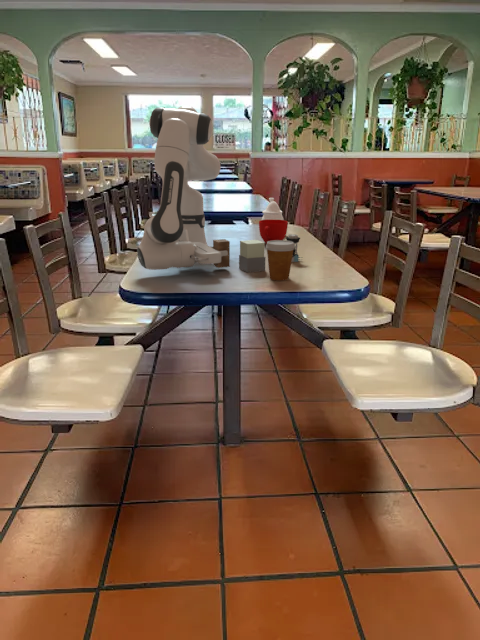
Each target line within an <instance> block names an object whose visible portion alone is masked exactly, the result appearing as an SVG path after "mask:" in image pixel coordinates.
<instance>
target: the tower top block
mask: <svg viewBox="0 0 480 640" xmlns="http://www.w3.org/2000/svg"><path fill="white" fill-rule="evenodd" d="M265 244H266V243H265V242H264V241H261V240H258V239H249V240H247V239H246V240H240V241H239V255H241V256H243V257H245V258H259V257H265V246H266V245H265Z"/></svg>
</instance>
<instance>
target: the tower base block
mask: <svg viewBox="0 0 480 640" xmlns="http://www.w3.org/2000/svg"><path fill="white" fill-rule="evenodd" d="M238 269H240V270H241V271H243V272H246V273H254V272H255V273H256V272H265V271H266V256H264V257H259V258H245V257H243V256H241V255H240V254H239V255H238Z"/></svg>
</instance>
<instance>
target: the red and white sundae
mask: <svg viewBox="0 0 480 640" xmlns="http://www.w3.org/2000/svg"><path fill="white" fill-rule="evenodd" d="M274 200H275V198H274V197H269V198H268V201H269V203H268V204H267V206H266V208H265V210H262V211H261V212H262V214H263V215H262V218H261V220H285V219H284V216H283V211H282V210H281V208H280V206H279V204H278V202H276V201H274ZM258 234H259V236H260V237H261V235H260V232H258Z"/></svg>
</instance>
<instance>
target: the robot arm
mask: <svg viewBox="0 0 480 640" xmlns="http://www.w3.org/2000/svg"><path fill="white" fill-rule="evenodd" d="M148 123H149V129H150V133H151V135H152V136H153V137H155V138H156V139H157V141H156V145H155V152H154V170H155V172H156V174H157V175H159V177H160V178H161V179H162V189H161V195H160V196H161V197H160V203H159V205H160V206H159V208H158V210H157V212H156V214H155V215H152V216H151V217H150V218H148V219H147V220H146V222H145V223H144V228H143V229H144V230H143V235H142V238H141V241H140V243H139V245H138V246H137V249H136V252H137V255H136V256H137V258H138V259H137V260H138V262H139V264H140V265H141V266H142V268H144V269H146V270H150V271H151V270H152V271H153V270H154V271H155V270H156V271H159V270H161V271H162V270H167V269H171V268H175V269H176V268H177V269H182V268H192V267H193V266H194V265H195V264H196V263H198V264H200V265H202V264H203V265H207V264H208V265H210V264H211V265H212V264H214V263H220V262H221V257H222V256H227V255H228V251H227V250H221V251H217V250H215V249H213V246H209V245H208V241H207V237H206V232H205V226H206V219H205V213H204V196H203V195H202V193H201V192H200V191H199V190H197V189H195V188H193V187H191V186H190V185H189V182H190V181H210V180H215V179H216V178H217V177H218V176H219V174H220V172H221V162H220V159H219V158H218V157H217V156H216V154H213V153H211V152H210V151H208V149H206V147H205V146H204V145H206V144H207V143H208V142H210V139H211V138H212V134H213V127H214V126H213V123H212V118H211V117H210V116H209V115H208V114H206V113H203V112H198V111H197V109H195V108H194V107H193V106H190V105H182V106H180V107H178V108H172V107H171V108H170V107H164V106H162V107H161V106H160V107H155V108H154V109H153V110H152V111H151V115H150V117H149V122H148Z"/></svg>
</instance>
